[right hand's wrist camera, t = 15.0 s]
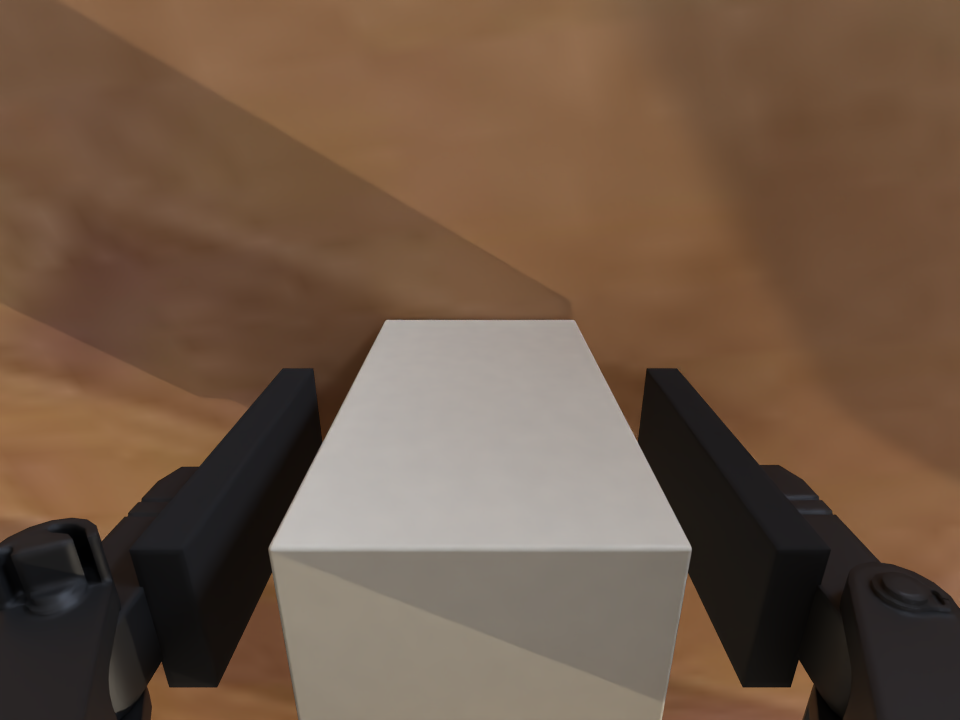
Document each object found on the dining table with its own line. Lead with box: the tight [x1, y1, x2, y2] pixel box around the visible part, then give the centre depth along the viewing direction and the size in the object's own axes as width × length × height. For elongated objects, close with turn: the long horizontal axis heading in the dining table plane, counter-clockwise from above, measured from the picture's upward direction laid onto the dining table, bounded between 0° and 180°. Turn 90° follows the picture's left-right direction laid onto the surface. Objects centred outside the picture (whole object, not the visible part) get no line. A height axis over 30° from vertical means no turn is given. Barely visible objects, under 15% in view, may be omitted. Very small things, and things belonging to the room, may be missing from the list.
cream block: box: [268, 320, 692, 720], centre depth 11 cm, size 5×5×8 cm
